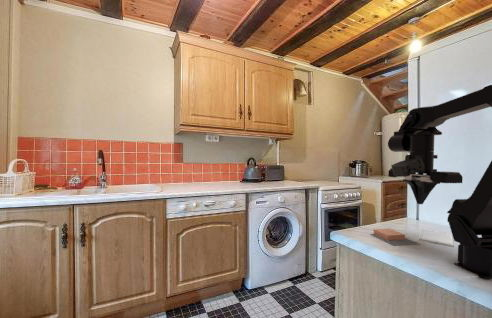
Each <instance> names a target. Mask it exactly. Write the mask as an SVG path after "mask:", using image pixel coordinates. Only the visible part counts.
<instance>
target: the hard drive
mask: <svg viewBox="0 0 492 318" xmlns="http://www.w3.org/2000/svg"><path fill="white" fill-rule="evenodd" d="M418 241H419V242H420V241H421V242H424V243H430V244H435V245H440V246H445V247H450V248H455V243H454V242H455V241H454V238H453V235H452V233H447V232H442V231H435V230H429V229H424V228H423V229H422V228H421V230H420V234H419V236H418Z"/></svg>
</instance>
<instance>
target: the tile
mask: <svg viewBox="0 0 492 318" xmlns="http://www.w3.org/2000/svg"><path fill="white" fill-rule="evenodd" d="M373 234H375V235H377V236H379V237H381V238H383V239H385V240H387V241H392V240H405V238H406V234H405V233H402V232H399V231H397V230H394V229H392V228H374V229H373Z"/></svg>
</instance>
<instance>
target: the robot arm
mask: <svg viewBox="0 0 492 318" xmlns="http://www.w3.org/2000/svg"><path fill="white" fill-rule="evenodd" d="M487 108H492V84H489V85H486V86H484V87H483V88H481V89H478V90H476V91H473V92H470V93H468V94H467V93H466V94H465V95H461V96H459V97H456V98H453V99H451V100H448V101H445V102H442V103H439V104H436V105H430V106H429V105H428V106H421V107H415V108H412V109H411V110H409V111H408V114H407V115H406V116H405V118H404V120H403V122H402V124H401V125H400V127H399V128H398V130H397V131H393V135H391V137H389V139H388V141H387V146H388V149H389V150H390V151H392V152H394V153H395V152H396V153H397V152H398V153H401V152H403V153H406V152H409V154H405V157H404V160H401V161H398V162H395V163H393V164H391V165H390V167H391V168H390V169H389V170H388V172H387V173H388V178H389V177H390V178H399V177H400V178H401V177H404V179H402V181H403V182H405V183H406V184H407V185H409V186H410V189H411V191H412V193H413V196H414V199H415V201H416V204H417V205H423V204H424V202H425V201H426V200H427V198H428V196H429V195H430V193H432V191H433V189H434V188H435V187H436V186H438V185H440V184H463V175H462V174H461V173H460V172H459V171H438V169H436V168H434V159H438V154H434V153H435V152H434V151H435V136H441V135H443V132H442V131H440V130H439V129H437V127H439V126H441V125H444V123H446V121H448V120H450V119H453V118H456V117H460V116H464V115H467V114H470V113H474V112H478V111H481V110H485V109H487ZM446 213H447V214H448V216H447V223H448V225H449V228H450V232H451V234H452V235H453V241H454V242H456V243H459V244H458V245H457V262H454V263H453V265H454V266H457V267H458V268H461V269H463V270H466V271H468V272H470V273H472V274H475V275H477V276H478V277H480V278H482V279H484V280H487V279H488V280H489V279H492V160H491V161H490V163H489V164H488V166H487V167H486V169H485V171H484V173H483V174H482V176H481V178H480V180H479V181H478V183H477V185H476V187H475V188H474V190H473V191H472V193H471V195H470V196H469V197H468V198H464V199H463V198H462V199H461V198H456V199H454V201H453V202H452V205H451V207H450V209H449V210H447V211H446ZM479 236H481V237H479Z"/></svg>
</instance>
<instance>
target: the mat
mask: <svg viewBox="0 0 492 318" xmlns="http://www.w3.org/2000/svg"><path fill="white" fill-rule="evenodd" d="M369 235H370V236H373V237H374V238H376V239H378V240H380V241H383V242H384V243H387V244H388V245H390V246H393V247H401V246H402V247H403V246H404V247H405V246H414V245H415V246H418V245H420V246H421V244H420V243H419V242H416V241H414V240H411V239H409V238H406V237H405V240H392V241H387V240H385V239H383V238H381V237H379V236H377V235H375V234H374V233H369Z"/></svg>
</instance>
